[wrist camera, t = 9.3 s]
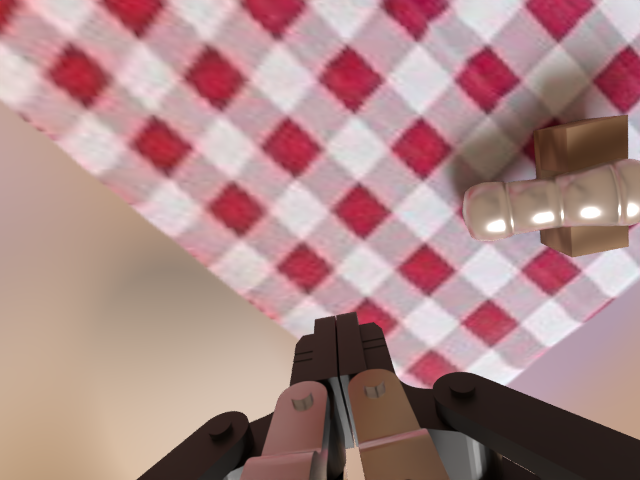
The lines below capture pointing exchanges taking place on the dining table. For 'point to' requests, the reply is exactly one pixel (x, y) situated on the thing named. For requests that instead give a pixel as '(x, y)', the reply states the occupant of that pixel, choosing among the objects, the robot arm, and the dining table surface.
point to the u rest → (574, 154)
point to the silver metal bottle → (555, 201)
